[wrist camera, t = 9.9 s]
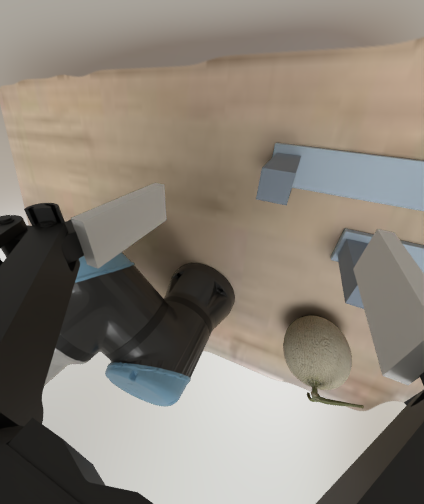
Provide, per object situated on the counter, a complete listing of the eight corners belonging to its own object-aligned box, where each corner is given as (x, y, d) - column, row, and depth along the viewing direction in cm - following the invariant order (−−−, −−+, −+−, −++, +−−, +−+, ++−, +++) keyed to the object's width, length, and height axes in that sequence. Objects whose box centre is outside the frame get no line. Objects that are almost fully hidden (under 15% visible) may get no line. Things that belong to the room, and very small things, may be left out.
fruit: (282, 335, 45) (271, 410, 34) (291, 297, 39) (282, 374, 27) (335, 351, 42) (344, 441, 30) (355, 313, 35) (375, 408, 24)
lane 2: (330, 256, 32) (336, 307, 23) (344, 228, 29) (357, 274, 21) (423, 280, 29) (469, 349, 20) (450, 251, 26) (517, 318, 17)
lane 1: (267, 181, 30) (249, 207, 21) (276, 142, 27) (259, 155, 18) (553, 231, 21) (710, 307, 13) (610, 183, 18) (859, 241, 10)
